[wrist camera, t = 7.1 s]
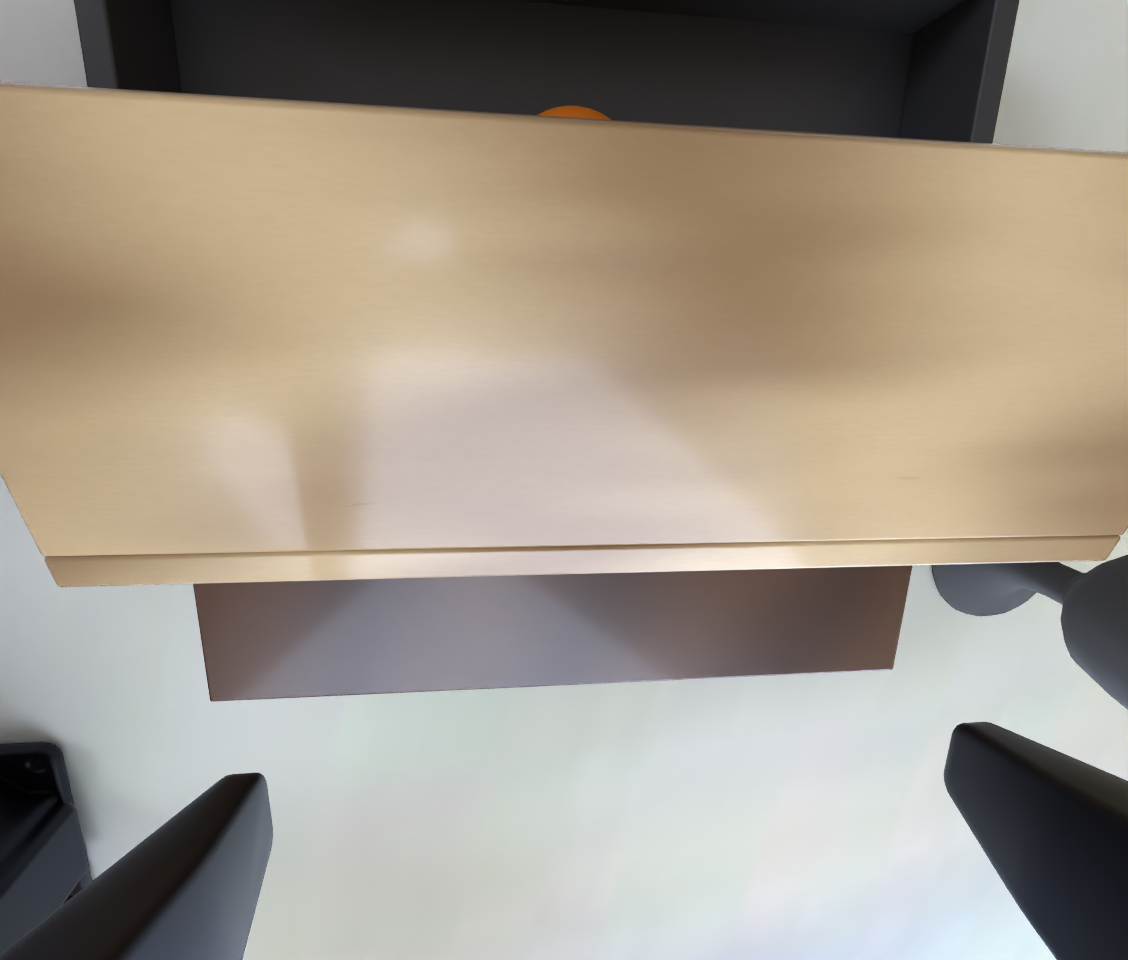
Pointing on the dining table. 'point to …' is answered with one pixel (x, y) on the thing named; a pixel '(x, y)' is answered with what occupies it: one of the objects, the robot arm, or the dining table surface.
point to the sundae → (1090, 603)
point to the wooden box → (546, 343)
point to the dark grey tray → (581, 58)
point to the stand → (544, 629)
